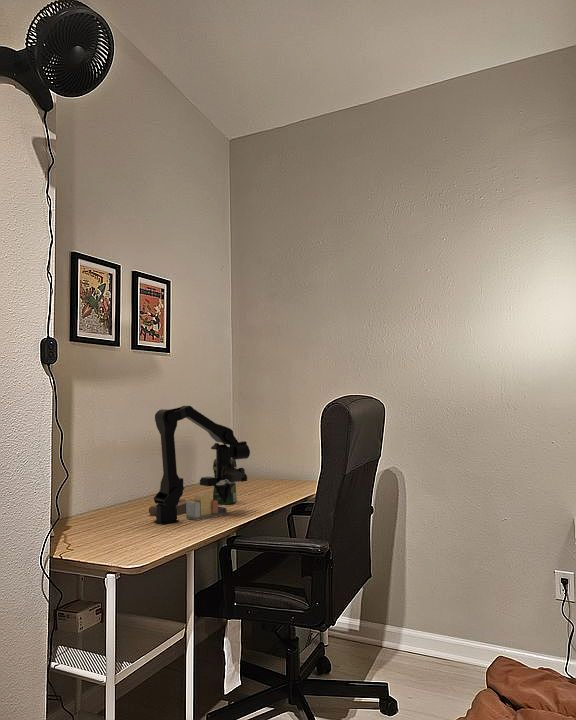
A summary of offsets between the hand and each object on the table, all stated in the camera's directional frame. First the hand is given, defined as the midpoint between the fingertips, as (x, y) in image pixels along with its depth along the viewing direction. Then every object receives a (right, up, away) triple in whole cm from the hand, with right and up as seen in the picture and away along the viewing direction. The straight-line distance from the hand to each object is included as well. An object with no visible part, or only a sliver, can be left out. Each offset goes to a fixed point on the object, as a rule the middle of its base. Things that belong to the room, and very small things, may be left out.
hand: (224, 502), depth 228 cm
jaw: (-4, -3, -4) cm, 7 cm away
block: (-7, -3, -7) cm, 10 cm away
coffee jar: (-2, -6, +22) cm, 23 cm away
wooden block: (-17, -3, +12) cm, 21 cm away
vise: (-6, -4, -6) cm, 9 cm away
